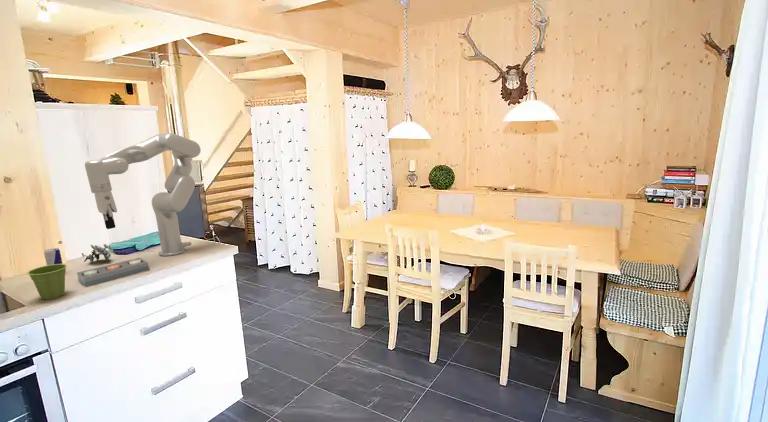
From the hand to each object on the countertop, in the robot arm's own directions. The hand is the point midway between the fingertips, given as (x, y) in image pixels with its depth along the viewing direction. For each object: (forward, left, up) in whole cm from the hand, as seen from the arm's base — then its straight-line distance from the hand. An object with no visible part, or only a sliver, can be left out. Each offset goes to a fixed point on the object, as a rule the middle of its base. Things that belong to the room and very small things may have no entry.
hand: (111, 228), depth 179 cm
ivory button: (-5, +7, -18) cm, 20 cm away
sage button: (+12, +7, -18) cm, 23 cm away
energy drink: (+20, -16, -20) cm, 32 cm away
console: (+3, +7, -20) cm, 21 cm away
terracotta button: (+3, +7, -18) cm, 19 cm away
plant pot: (+26, +14, -20) cm, 36 cm away
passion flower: (+3, -21, -20) cm, 29 cm away
